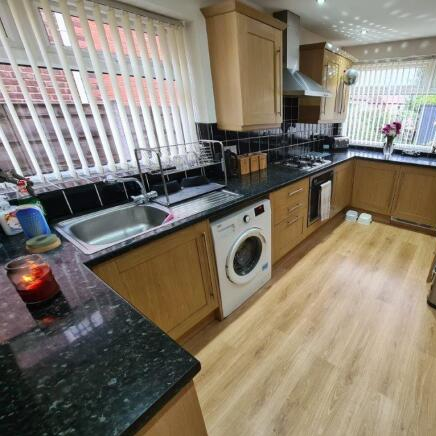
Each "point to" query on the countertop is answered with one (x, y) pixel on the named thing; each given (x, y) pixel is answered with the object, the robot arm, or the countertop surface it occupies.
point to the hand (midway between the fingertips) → (16, 202)
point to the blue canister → (31, 220)
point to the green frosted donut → (42, 243)
